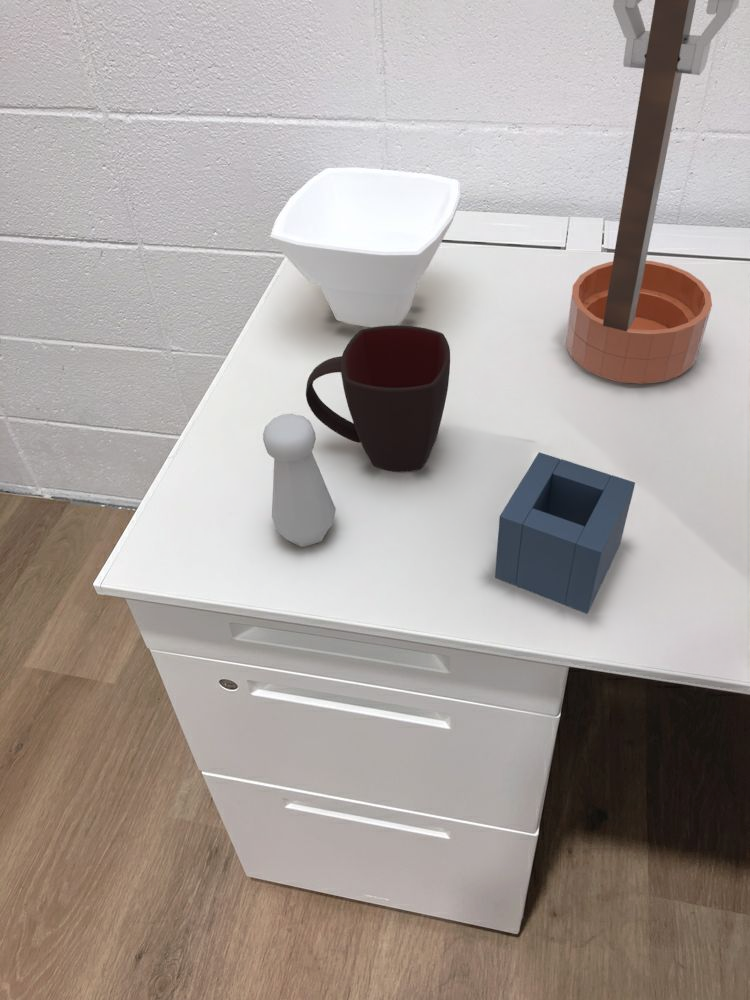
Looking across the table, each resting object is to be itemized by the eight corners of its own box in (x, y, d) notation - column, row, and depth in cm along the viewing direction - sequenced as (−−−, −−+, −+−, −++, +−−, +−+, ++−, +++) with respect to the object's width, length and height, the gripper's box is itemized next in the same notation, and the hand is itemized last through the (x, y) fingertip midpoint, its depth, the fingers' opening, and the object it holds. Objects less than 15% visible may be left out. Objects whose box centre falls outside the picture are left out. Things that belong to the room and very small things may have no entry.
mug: (444, 490, 77) (444, 393, 69) (304, 480, 80) (287, 384, 71) (453, 423, 84) (455, 326, 75) (325, 415, 86) (312, 320, 78)
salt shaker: (346, 515, 76) (333, 409, 67) (324, 560, 72) (307, 455, 63) (290, 502, 78) (269, 398, 68) (265, 546, 74) (240, 441, 64)
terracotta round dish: (710, 330, 93) (726, 276, 88) (676, 402, 84) (690, 347, 79) (590, 301, 98) (598, 249, 93) (546, 366, 90) (552, 313, 85)
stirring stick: (634, 319, 65) (700, -24, 48) (626, 331, 64) (691, -15, 47) (610, 313, 66) (667, -27, 49) (602, 326, 65) (657, -18, 48)
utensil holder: (619, 545, 71) (635, 482, 66) (587, 614, 67) (601, 552, 61) (531, 514, 75) (538, 451, 69) (494, 577, 70) (499, 516, 64)
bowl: (429, 370, 91) (428, 258, 81) (273, 345, 96) (254, 237, 86) (470, 283, 103) (473, 177, 92) (330, 265, 108) (318, 162, 98)
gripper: (504, -208, 44) (494, 67, 54) (929, -220, 36) (825, 106, 46) (547, -222, 47) (531, 37, 57) (942, -236, 39) (843, 69, 49)
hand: (664, 68), depth 51 cm, fingers closed on stirring stick, 2 cm apart
